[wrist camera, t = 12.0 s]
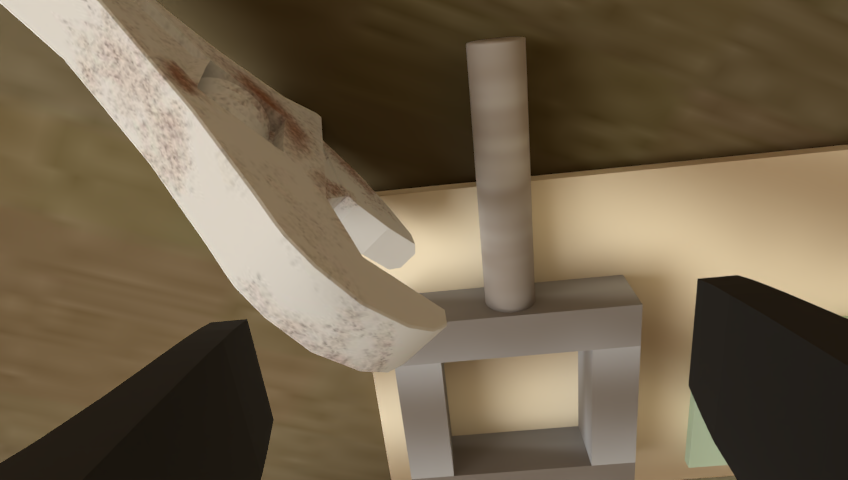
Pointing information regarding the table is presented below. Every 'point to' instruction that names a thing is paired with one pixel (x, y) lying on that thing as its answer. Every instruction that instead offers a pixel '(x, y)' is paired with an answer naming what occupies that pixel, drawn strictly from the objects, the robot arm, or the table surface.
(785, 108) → the table surface
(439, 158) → the table surface
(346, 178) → the wrench
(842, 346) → the robot arm
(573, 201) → the chuck board
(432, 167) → the table surface
